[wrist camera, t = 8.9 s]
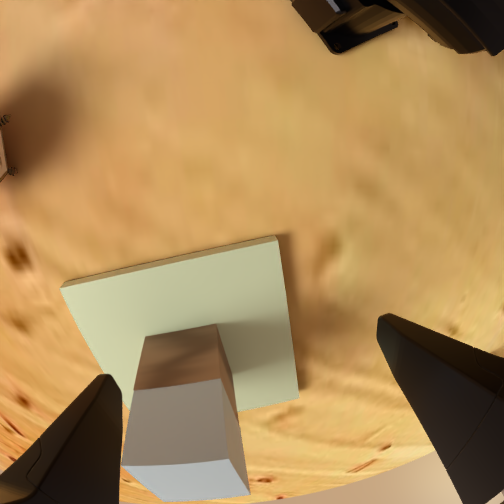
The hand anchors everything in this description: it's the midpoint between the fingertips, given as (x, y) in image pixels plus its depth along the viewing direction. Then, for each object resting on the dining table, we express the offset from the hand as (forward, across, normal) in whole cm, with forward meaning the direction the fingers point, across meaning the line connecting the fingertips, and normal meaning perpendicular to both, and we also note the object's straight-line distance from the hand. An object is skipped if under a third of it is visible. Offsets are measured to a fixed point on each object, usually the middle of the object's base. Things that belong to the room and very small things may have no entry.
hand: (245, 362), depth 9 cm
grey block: (+6, +5, +9) cm, 11 cm away
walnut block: (+11, +5, +9) cm, 15 cm away
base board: (+12, +5, +9) cm, 16 cm away
